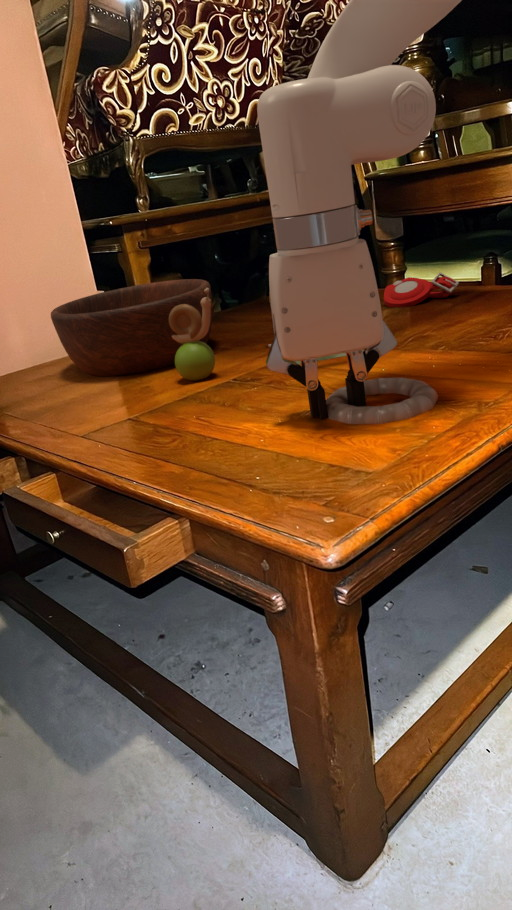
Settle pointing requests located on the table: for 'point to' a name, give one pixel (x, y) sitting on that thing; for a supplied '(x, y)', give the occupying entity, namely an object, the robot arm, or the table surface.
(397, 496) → the table surface
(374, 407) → the bracelet
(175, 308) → the snail figurine
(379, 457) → the table surface
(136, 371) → the wooden bowl
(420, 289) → the tracker holder
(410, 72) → the robot arm
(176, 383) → the table surface
